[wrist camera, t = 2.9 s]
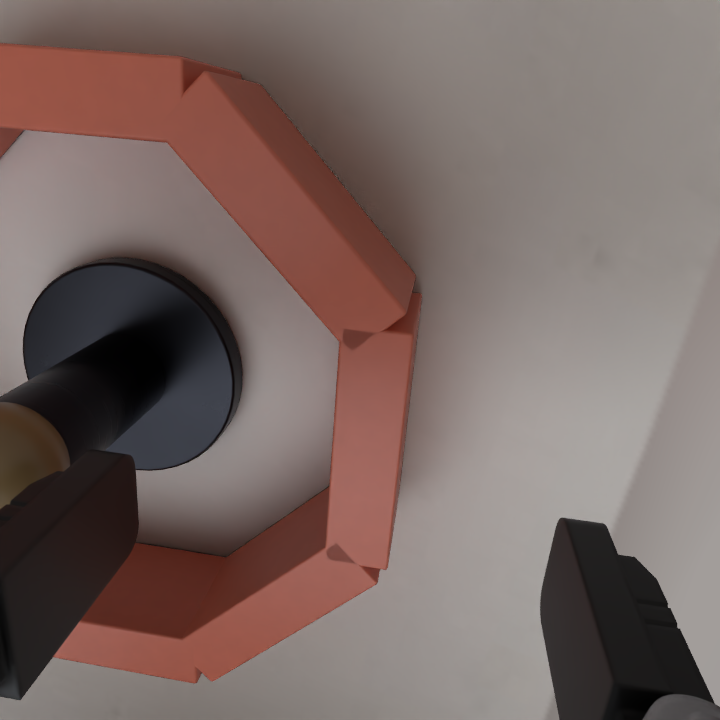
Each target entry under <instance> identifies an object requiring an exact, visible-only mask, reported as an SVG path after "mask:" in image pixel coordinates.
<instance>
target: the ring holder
mask: <svg viewBox="0 0 720 720" xmlns="http://www.w3.org/2000/svg"><path fill="white" fill-rule="evenodd" d="M23 357H24V365H25V369H26V374H27V378H28V381H27V382H25V383H23V384H22V385H20V386H18V387H16V388H15V389H13V390H11V391H10V392H8V393H6V394H4V395H3V396H1V397H0V509H1V508H3V507H4V506H5V505H6V504H8V505H9V504H10V501H11V500H12V499H13V498H14V497H16V496H17V495H18V494H19V493H20V492H22V491H23V490H24V489H25V488H26V487H27V486H29V485H30V484H31V483H33V482H36V481H38V480H40V479H42V478H44V477H46V476H48V475H50V474H52V473H55V472H57V471H63V472H64V471H65V470H66V469H67V468H68V467H70V466H71V465H72V464H73V463H74V462H75V461H76V460H78V459H79V458H80V457H81V456H82V455H83V454H84V453H85V452H87V451H88V450H91V449H94V450H101V451H108V452H115V453H122V454H129V455H131V456H132V457H133V459H134V462H135V469H136V470H148V471H152V470H163V469H168V468H173V467H177V466H179V465H182V464H185V463H188V462H189V461H191V460H193V459H195V458H197V457H199V456H200V455H201V454H203V453H204V452H205V451H207V450H208V449H209V448H210V447H211V446H212V445H213V444H214V443H215V442H216V441H217V439H218V438H219V437H220V435H221V434H222V433H223V432H224V430H225V429H226V427H227V426H228V425H229V423H230V422H231V420H232V418H233V416H234V414H235V412H236V409H237V406H238V403H239V400H240V394H241V389H242V368H241V359H240V355H239V351H238V347H237V344H236V341H235V339H234V336H233V333H232V331H231V329H230V327H229V325H228V324H227V322H226V320H225V318H224V317H223V315H222V314H221V312H220V311H219V309H218V308H217V307H216V306H215V304H214V303H213V302H212V301H211V300H210V299H209V298H208V296H207V295H206V294H204V293H203V292H202V291H201V290H200V289H199V288H198V287H197V286H196V285H194V284H193V283H192V282H190V281H189V280H187V279H186V278H185V277H183V276H181V275H179V274H178V273H176V272H174V271H172V270H170V269H168V268H166V267H163V266H161V265H158V264H156V263H152V262H149V261H145V260H141V259H133V258H108V259H101V260H97V261H94V262H91V263H87V264H85V265H82V266H79V267H76V268H74V269H72V270H70V271H68V272H66V273H63V274H62V275H60V276H59V277H58V278H56V279H55V280H53V281H52V282H51V283H50V284H49V285H48V286H47V287H46V288H45V289H44V290H43V291H42V293H41V294H40V295H39V297H38V298H37V299H36V301H35V303H34V305H33V307H32V309H31V311H30V313H29V315H28V319H27V322H26V325H25V330H24V336H23Z"/></svg>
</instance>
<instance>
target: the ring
mask: <svg viewBox="0 0 720 720" xmlns="http://www.w3.org/2000/svg"><path fill="white" fill-rule="evenodd" d="M23 130H32V131H43V132H54V133H66V134H77V135H88V136H99V137H110V138H122V139H133V140H144V141H155V142H166V143H168V144H169V145H170V147H171V148H172V149H173V150H174V151H175V152H176V153H177V155H178V156H179V157H180V158H181V159H182V160H183V162H184V163H185V164H186V165H187V166H188V167H189V168H190V170H191V171H192V172H193V173H194V174H195V175H196V177H197V178H198V179H199V180H200V181H201V182H202V184H203V185H204V186H205V187H206V188H207V189H208V190H209V192H210V193H211V194H212V195H213V196H214V197H215V199H216V200H217V201H218V202H219V203H220V204H221V205H222V207H223V208H224V209H225V210H226V211H227V212H228V214H229V215H230V216H231V217H232V218H233V219H234V220H235V222H236V223H237V224H238V225H239V226H240V227H241V229H242V230H243V231H244V232H245V233H246V234H247V236H248V237H249V238H250V239H251V240H252V241H253V242H254V244H255V245H256V246H257V247H258V248H259V249H260V251H261V252H262V253H263V254H264V255H265V256H266V257H267V259H268V260H269V261H270V262H271V263H272V264H273V266H274V267H275V268H276V269H277V270H278V271H279V273H280V274H281V275H282V276H283V277H284V278H285V279H286V281H287V282H288V283H289V284H290V285H291V286H292V288H293V289H294V290H295V291H296V292H297V293H298V294H299V296H300V297H301V298H302V299H303V300H304V301H305V303H306V304H307V305H308V306H309V307H310V308H311V310H312V311H313V312H314V313H315V314H316V315H317V316H318V318H319V319H320V320H321V321H322V322H323V323H324V325H325V326H326V327H327V328H328V329H329V330H330V331H331V333H332V334H333V335H334V336H335V337H336V338H337V340H338V341H339V356H338V370H337V384H336V399H335V413H334V427H333V442H332V456H331V471H330V485H329V487H328V488H327V489H325V490H324V491H322V492H321V493H319V494H318V495H316V496H315V497H313V498H312V499H311V500H309V501H308V502H306V503H305V504H303V505H302V506H300V507H299V508H297V509H296V510H294V511H293V512H292V513H290V514H289V515H287V516H286V517H284V518H283V519H281V520H280V521H278V522H277V523H276V524H274V525H273V526H271V527H270V528H268V529H267V530H265V531H264V532H262V533H261V534H259V535H258V536H257V537H255V538H254V539H252V540H251V541H249V542H248V543H246V544H245V545H243V546H242V547H241V548H239V549H238V550H236V551H235V552H233V553H232V554H230V555H229V556H227V557H221V556H215V555H209V554H203V553H196V552H190V551H184V550H178V549H172V548H166V547H159V546H153V545H147V544H141V543H135V544H134V547H133V549H132V551H131V553H130V555H129V556H128V558H127V559H126V560H125V562H124V563H123V564H122V566H121V567H120V568H119V570H118V571H117V572H116V574H115V575H114V576H113V578H112V579H111V580H110V582H109V583H108V584H107V586H106V587H105V588H104V590H103V591H102V592H101V594H100V595H99V596H98V598H97V599H96V600H95V602H94V603H93V604H92V606H91V607H90V608H89V610H88V611H87V612H86V614H85V615H84V616H83V618H82V619H81V620H80V622H79V623H78V624H77V626H76V627H75V628H74V630H73V631H72V632H71V634H70V635H69V636H68V638H67V639H66V640H65V642H64V643H63V644H62V646H61V647H60V648H59V650H58V651H57V652H56V654H55V655H54V656H53V657H55V658H60V659H66V660H71V661H76V662H82V663H87V664H93V665H98V666H103V667H109V668H114V669H119V670H125V671H130V672H136V673H141V674H146V675H152V676H157V677H163V678H168V679H173V680H179V681H184V682H190V683H197V682H198V680H199V678H200V675H201V673H203V674H204V675H205V676H206V677H207V678H208V679H209V680H210V681H214V680H216V679H218V678H219V677H221V676H223V675H224V674H226V673H228V672H230V671H231V670H233V669H235V668H236V667H238V666H240V665H241V664H243V663H245V662H246V661H248V660H250V659H251V658H253V657H255V656H256V655H258V654H260V653H261V652H263V651H265V650H267V649H268V648H270V647H272V646H273V645H275V644H277V643H278V642H280V641H282V640H283V639H285V638H287V637H288V636H290V635H292V634H293V633H295V632H297V631H298V630H300V629H302V628H304V627H305V626H307V625H309V624H310V623H312V622H314V621H315V620H317V619H319V618H320V617H322V616H324V615H325V614H327V613H329V612H330V611H332V610H334V609H335V608H337V607H339V606H340V605H342V604H344V603H346V602H347V601H349V600H351V599H352V598H354V597H356V596H357V595H359V594H361V593H362V592H364V591H366V590H367V589H369V588H371V587H372V586H374V585H376V584H377V583H378V577H379V572H380V569H383V570H386V569H387V568H388V562H389V555H390V549H391V542H392V536H393V529H394V523H395V516H396V509H397V503H398V496H399V489H400V480H401V472H402V463H403V455H404V446H405V438H406V429H407V421H408V412H409V404H410V395H411V387H412V378H413V370H414V361H415V353H416V344H417V336H418V327H419V318H420V310H421V301H422V294H420V293H412V290H413V286H414V283H415V279H416V275H415V273H414V272H413V271H412V270H411V269H410V267H409V266H408V265H407V264H406V262H405V261H404V260H403V259H402V258H401V256H400V255H399V254H398V253H397V251H396V250H395V249H394V248H393V246H392V245H391V244H390V243H389V242H388V240H387V239H386V238H385V237H384V235H383V234H382V233H381V232H380V231H379V229H378V228H377V227H376V226H375V224H374V223H373V222H372V221H371V219H370V218H369V217H368V216H367V215H366V213H365V212H364V211H363V210H362V208H361V207H360V206H359V205H358V204H357V202H356V201H355V200H354V199H353V197H352V196H351V195H350V194H349V192H348V191H347V190H346V189H345V188H344V186H343V185H342V184H341V183H340V181H339V180H338V179H337V178H336V177H335V175H334V174H333V173H332V172H331V170H330V169H329V168H328V167H327V165H326V164H325V163H324V162H323V161H322V159H321V158H320V157H319V156H318V154H317V153H316V152H315V151H314V149H313V148H312V147H311V146H310V145H309V143H308V142H307V141H306V140H305V138H304V137H303V136H302V135H301V134H300V132H299V131H298V130H297V129H296V127H295V126H294V125H293V124H292V122H291V121H290V120H289V119H288V118H287V116H286V115H285V114H284V113H283V111H282V110H281V109H280V108H279V107H278V105H277V104H276V103H275V102H274V100H273V99H272V98H271V97H270V95H269V94H268V93H267V92H266V91H265V89H264V88H263V87H262V86H261V85H260V84H258V83H254V82H250V81H246V80H242V79H241V74H240V73H238V72H235V71H231V70H228V69H224V68H221V67H217V66H213V65H210V64H206V63H203V62H199V61H196V60H192V59H189V58H185V57H181V56H172V55H158V54H145V53H131V52H117V51H104V50H90V49H77V48H63V47H49V46H36V45H22V44H9V43H0V158H1V157H2V155H3V154H4V153H5V152H6V151H7V149H8V148H9V147H10V146H11V144H12V143H13V142H14V141H15V140H16V138H17V137H18V136H19V135H20V134H21V132H22V131H23Z"/></svg>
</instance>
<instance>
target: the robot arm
mask: <svg viewBox="0 0 720 720" xmlns="http://www.w3.org/2000/svg"><path fill="white" fill-rule="evenodd" d="M138 525H139V520H138V503H137V486H136V469H135V462H134V459H133V457H132V456H131V455H129V454H122V453H115V452H108V451H101V450H94V449H91V450H88V451H87V452H85V453H84V454H83V455H82V456H81V457H80V458H79V459H78V460H76V461H75V462H74V463H73V464H72V465H71V466H70V467H68V468H67V469H66V470H65V471H64V472H63V471H57V472H55V473H52V474H50V475H48V476H46V477H44V478H42V479H40V480H38V481H36V482H33V483H31V484H30V485H29V486H27V487H26V488H25V489H24V490H23V491H22V492H20V493H19V494H18V495H17V496H16V497H14V498H13V499H12V500H11V501H10V504H9V505H8V504H6V505H5V506H4V507H3V508H1V509H0V697H5V698H11V699H16V700H21V699H22V697H23V696H24V695H25V693H26V692H27V691H28V689H29V688H30V687H31V685H32V684H33V683H34V681H35V680H36V679H37V677H38V676H39V675H40V673H41V672H42V671H43V669H44V668H45V667H46V665H47V664H48V663H49V661H50V660H51V659H52V657H53V656H54V655H55V654H56V652H57V651H58V650H59V648H60V647H61V646H62V644H63V643H64V642H65V640H66V639H67V638H68V636H69V635H70V634H71V632H72V631H73V630H74V628H75V627H76V626H77V624H78V623H79V622H80V620H81V619H82V618H83V616H84V615H85V614H86V612H87V611H88V610H89V608H90V607H91V606H92V604H93V603H94V602H95V600H96V599H97V598H98V596H99V595H100V594H101V592H102V591H103V590H104V588H105V587H106V586H107V584H108V583H109V582H110V580H111V579H112V578H113V576H114V575H115V574H116V572H117V571H118V570H119V568H120V567H121V566H122V564H123V563H124V562H125V560H126V559H127V558H128V556H129V555H130V553H131V551H132V549H133V547H134V544H135V541H136V538H137V533H138ZM540 615H541V624H542V630H543V635H544V640H545V645H546V651H547V656H548V661H549V666H550V672H551V677H552V682H553V687H554V693H555V698H556V703H557V708H558V714H559V719H560V720H720V707H719V706H717V705H715V703H714V701H713V699H712V697H711V695H710V692H709V690H708V688H707V686H706V684H705V682H704V680H703V677H702V676H701V674H700V672H699V669H698V667H697V665H696V662H695V660H694V658H693V656H692V654H691V652H690V650H689V648H688V645H687V643H686V641H685V639H684V637H683V635H682V633H681V631H680V629H678V628H677V622H676V620H675V618H674V615H673V613H672V611H671V609H670V608H668V603H667V600H666V598H665V596H664V594H663V592H662V590H661V588H660V585H659V583H658V581H657V579H656V578H655V577H654V576H653V575H652V574H651V573H650V572H649V571H648V570H647V569H646V568H645V567H644V566H643V565H642V564H641V563H640V562H639V561H638V560H637V559H636V558H635V557H630V556H623V555H618V554H617V551H616V548H615V546H614V543H613V541H612V538H611V536H610V533H609V531H608V529H607V526H606V525H605V524H603V523H596V522H589V521H582V520H575V519H568V518H560V519H559V521H558V523H557V526H556V529H555V534H554V538H553V542H552V547H551V551H550V555H549V560H548V564H547V568H546V572H545V577H544V581H543V586H542V591H541V602H540Z"/></svg>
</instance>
